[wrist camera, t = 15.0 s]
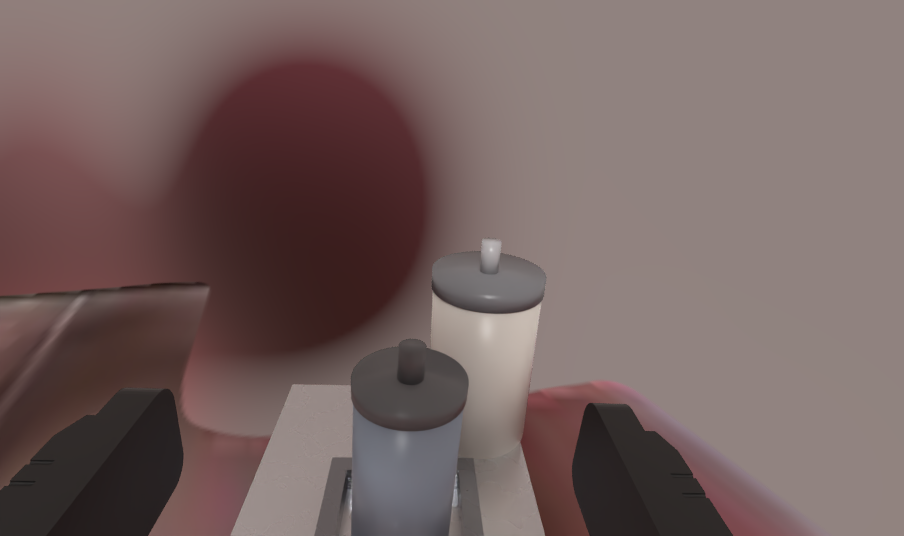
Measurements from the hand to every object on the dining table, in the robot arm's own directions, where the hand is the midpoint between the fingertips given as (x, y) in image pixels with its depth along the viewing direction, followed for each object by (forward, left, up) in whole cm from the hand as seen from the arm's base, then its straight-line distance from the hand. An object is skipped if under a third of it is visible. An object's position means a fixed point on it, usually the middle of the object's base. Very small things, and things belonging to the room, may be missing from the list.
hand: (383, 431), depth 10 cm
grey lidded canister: (0, +11, -17) cm, 20 cm away
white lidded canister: (+5, +21, -17) cm, 27 cm away
